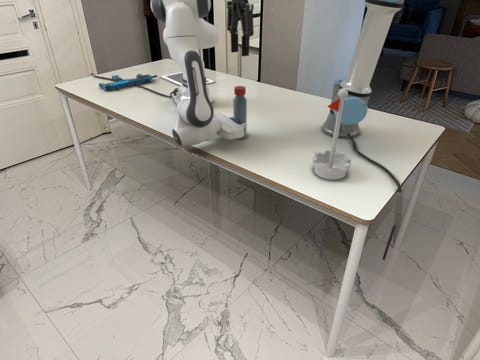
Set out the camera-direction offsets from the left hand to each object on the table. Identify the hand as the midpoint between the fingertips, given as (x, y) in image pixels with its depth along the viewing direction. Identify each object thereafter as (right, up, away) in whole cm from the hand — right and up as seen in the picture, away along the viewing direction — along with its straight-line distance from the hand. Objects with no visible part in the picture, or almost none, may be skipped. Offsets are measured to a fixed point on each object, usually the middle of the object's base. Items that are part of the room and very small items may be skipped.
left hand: (241, 121), depth 142 cm
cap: (-1, +12, -8) cm, 14 cm away
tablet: (-34, +39, +71) cm, 88 cm away
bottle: (-1, -6, +3) cm, 7 cm away
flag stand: (+31, -22, -21) cm, 44 cm away
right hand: (-1, +23, -15) cm, 28 cm away
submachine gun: (-70, +35, +66) cm, 103 cm away
